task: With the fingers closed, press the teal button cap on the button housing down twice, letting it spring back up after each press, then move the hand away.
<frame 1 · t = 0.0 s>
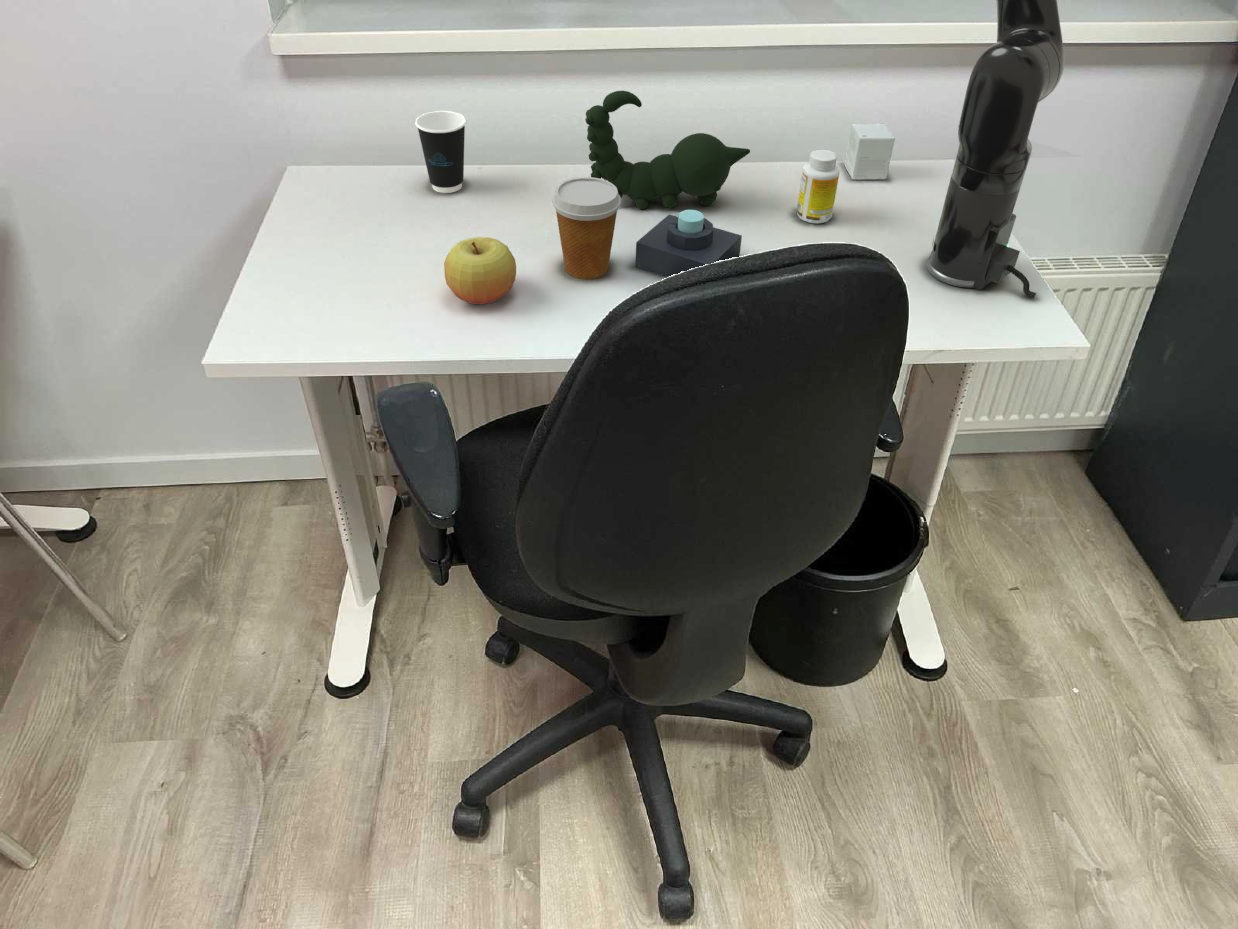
supplement bottle: (813, 217, 157), on the table
teal button cap: (690, 222, 141), point 7 cm above the table, slide at 0.1 cm
product box: (864, 173, 169), on the table
dixie cup: (447, 187, 162), on the table
disposable coffee cup: (586, 269, 144), on the table
apple: (482, 295, 138), on the table
button housing: (687, 263, 145), on the table
toy figurine: (664, 203, 160), on the table
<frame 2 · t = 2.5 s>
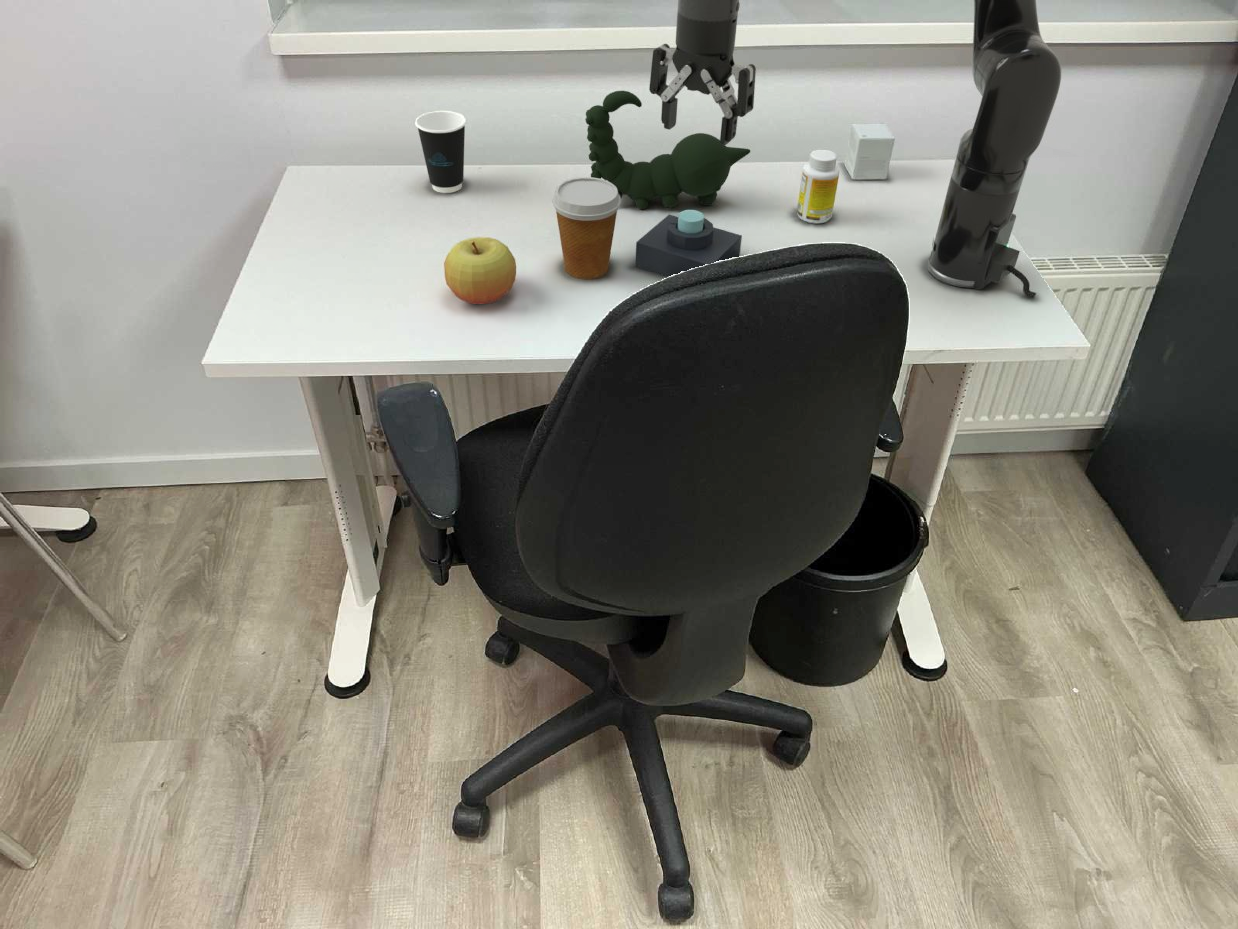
hand: (697, 134, 134), 19 cm above the table, tool pointing down, fingers open, 8 cm apart
nothing on the table moved.
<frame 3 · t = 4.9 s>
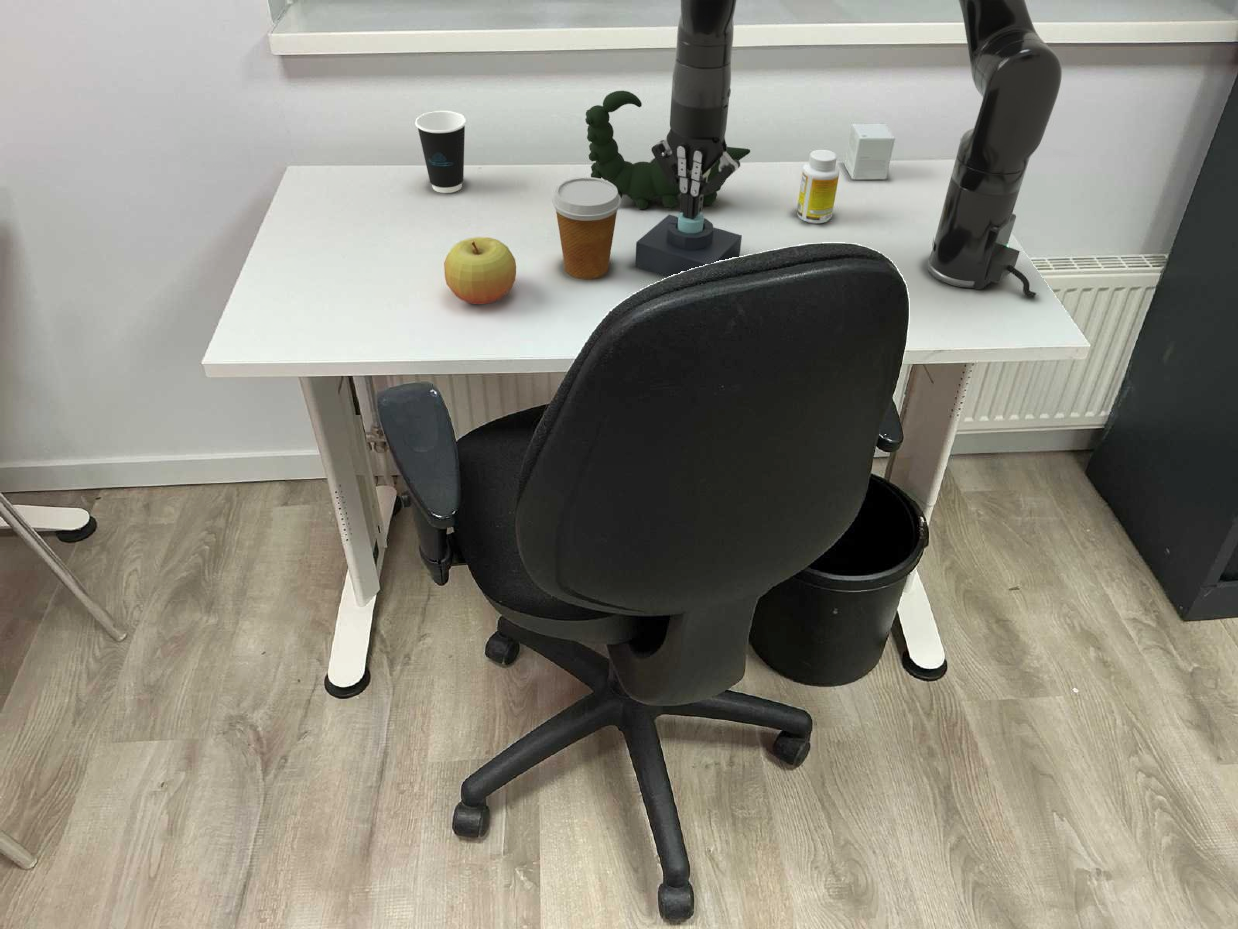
hand: (690, 216, 140), 8 cm above the table, tool pointing down, fingers closed
teal button cap: (690, 222, 141), point 7 cm above the table, slide at 0.0 cm, touching gripper
everything else where it was.
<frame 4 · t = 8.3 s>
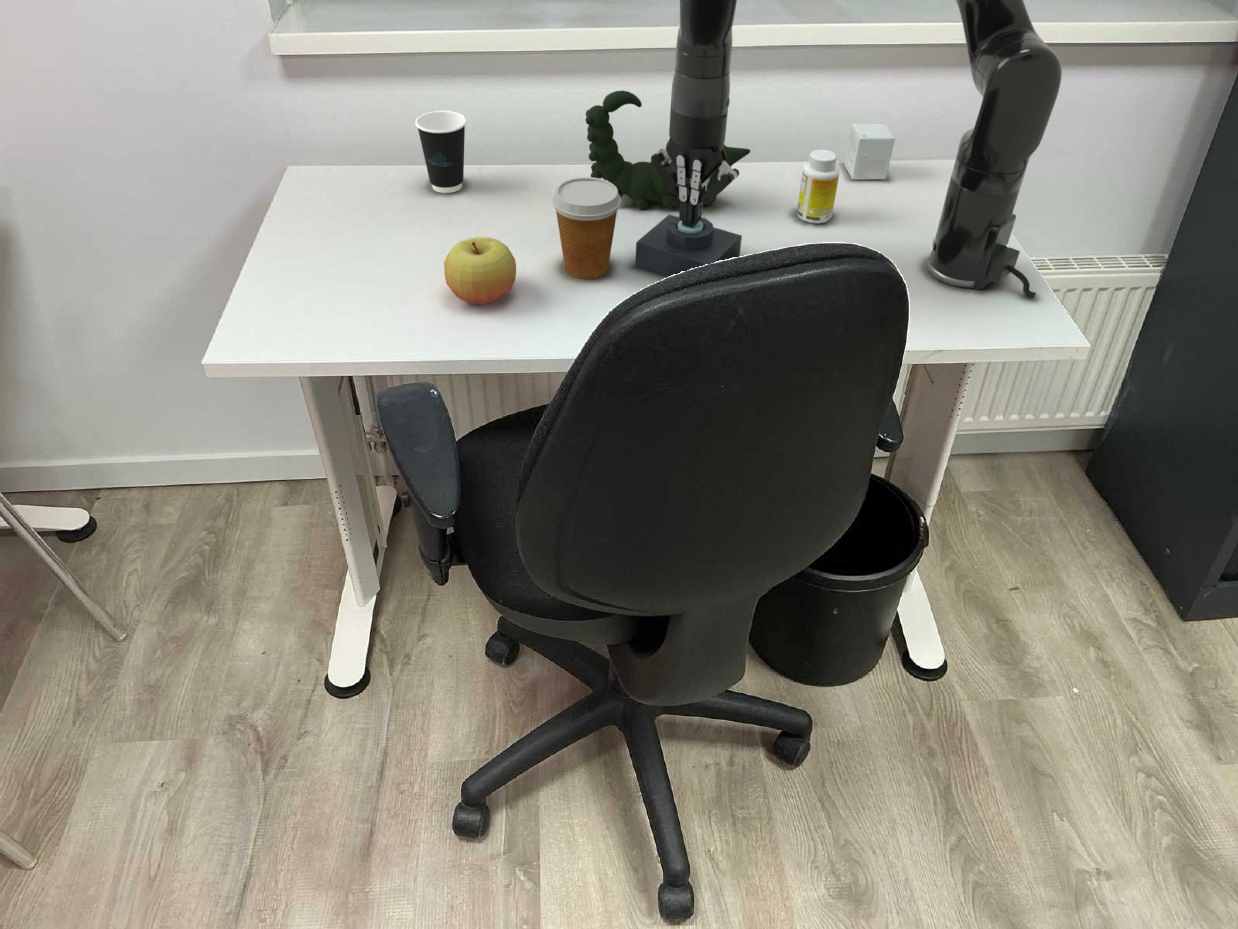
hand: (690, 224, 141), 6 cm above the table, tool pointing down, fingers closed
teal button cap: (690, 230, 142), point 5 cm above the table, slide at -1.3 cm, touching gripper
everything else where it was.
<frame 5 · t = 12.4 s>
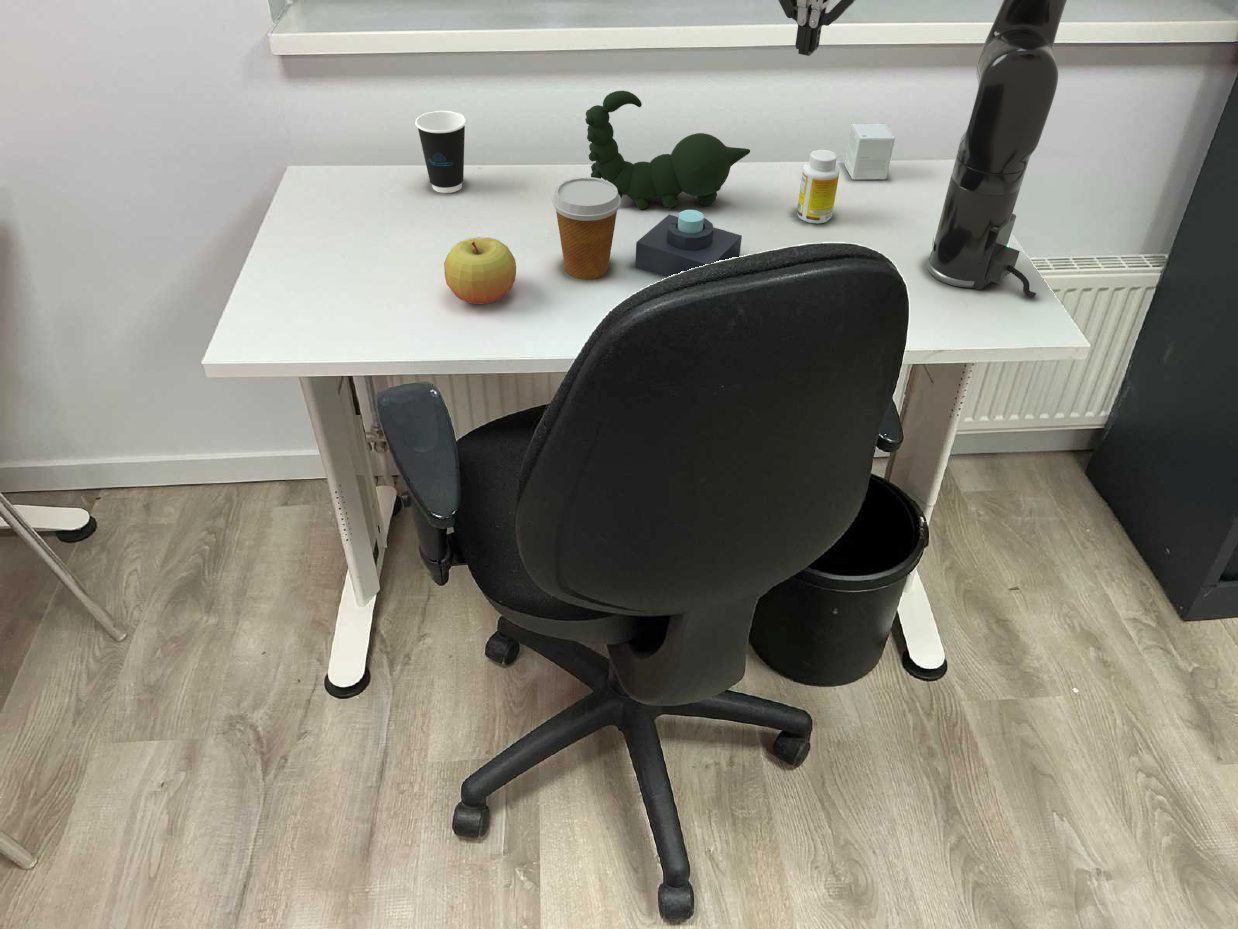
hand: (806, 53, 135), 27 cm above the table, tool pointing down, fingers closed
teal button cap: (690, 222, 141), point 7 cm above the table, slide at 0.1 cm
everything else where it was.
at the end: teal button cap pushed in 1.3 cm at the most during the clip, back to where it started at the end; teal button cap slide at 0.1 cm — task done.
